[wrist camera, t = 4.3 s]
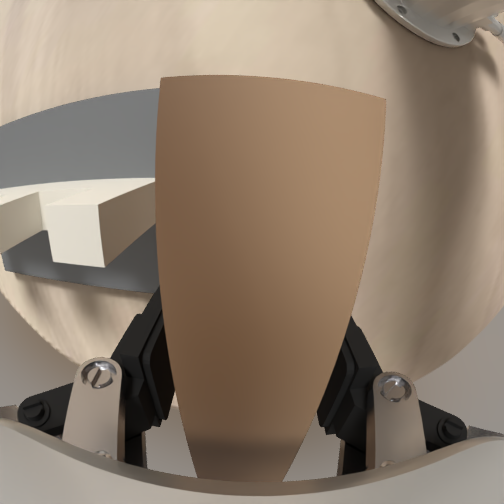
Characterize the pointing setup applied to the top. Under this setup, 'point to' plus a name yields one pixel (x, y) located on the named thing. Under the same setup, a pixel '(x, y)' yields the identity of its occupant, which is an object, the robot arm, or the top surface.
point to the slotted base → (82, 157)
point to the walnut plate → (259, 256)
